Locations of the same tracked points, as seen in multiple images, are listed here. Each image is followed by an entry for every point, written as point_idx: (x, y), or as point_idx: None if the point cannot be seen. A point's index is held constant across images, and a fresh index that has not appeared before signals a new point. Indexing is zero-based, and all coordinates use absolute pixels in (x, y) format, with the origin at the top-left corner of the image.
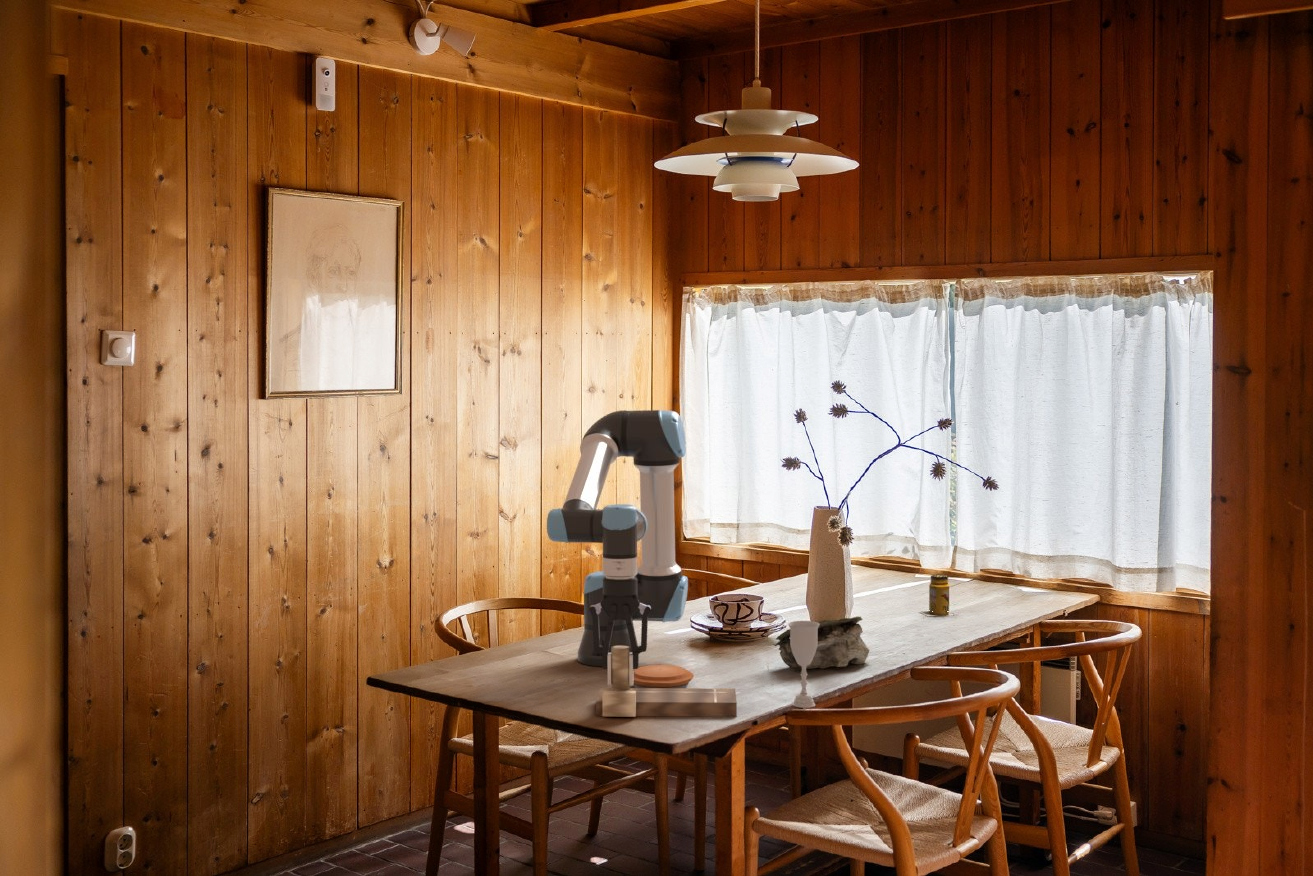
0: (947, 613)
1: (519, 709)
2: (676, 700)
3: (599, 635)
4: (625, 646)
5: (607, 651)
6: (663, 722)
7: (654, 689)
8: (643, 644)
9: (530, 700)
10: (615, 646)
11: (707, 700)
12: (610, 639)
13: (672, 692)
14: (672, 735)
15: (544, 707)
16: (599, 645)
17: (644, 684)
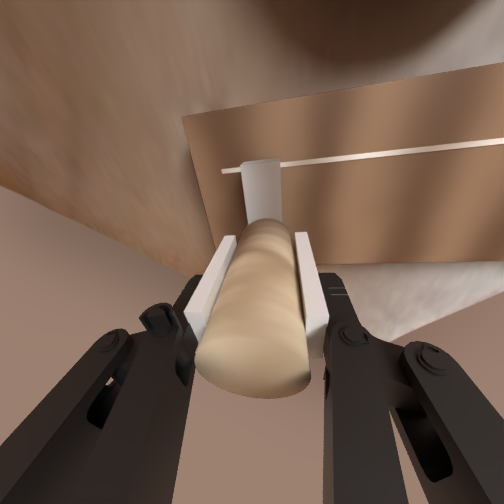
0: None
1: (72, 217)
2: (424, 246)
3: (62, 456)
4: (279, 357)
5: (193, 367)
6: (359, 280)
7: (383, 106)
8: (423, 443)
9: (32, 137)
10: (211, 354)
11: None
12: (166, 429)
13: (447, 151)
14: None
15: (103, 198)
16: (124, 371)
17: None
